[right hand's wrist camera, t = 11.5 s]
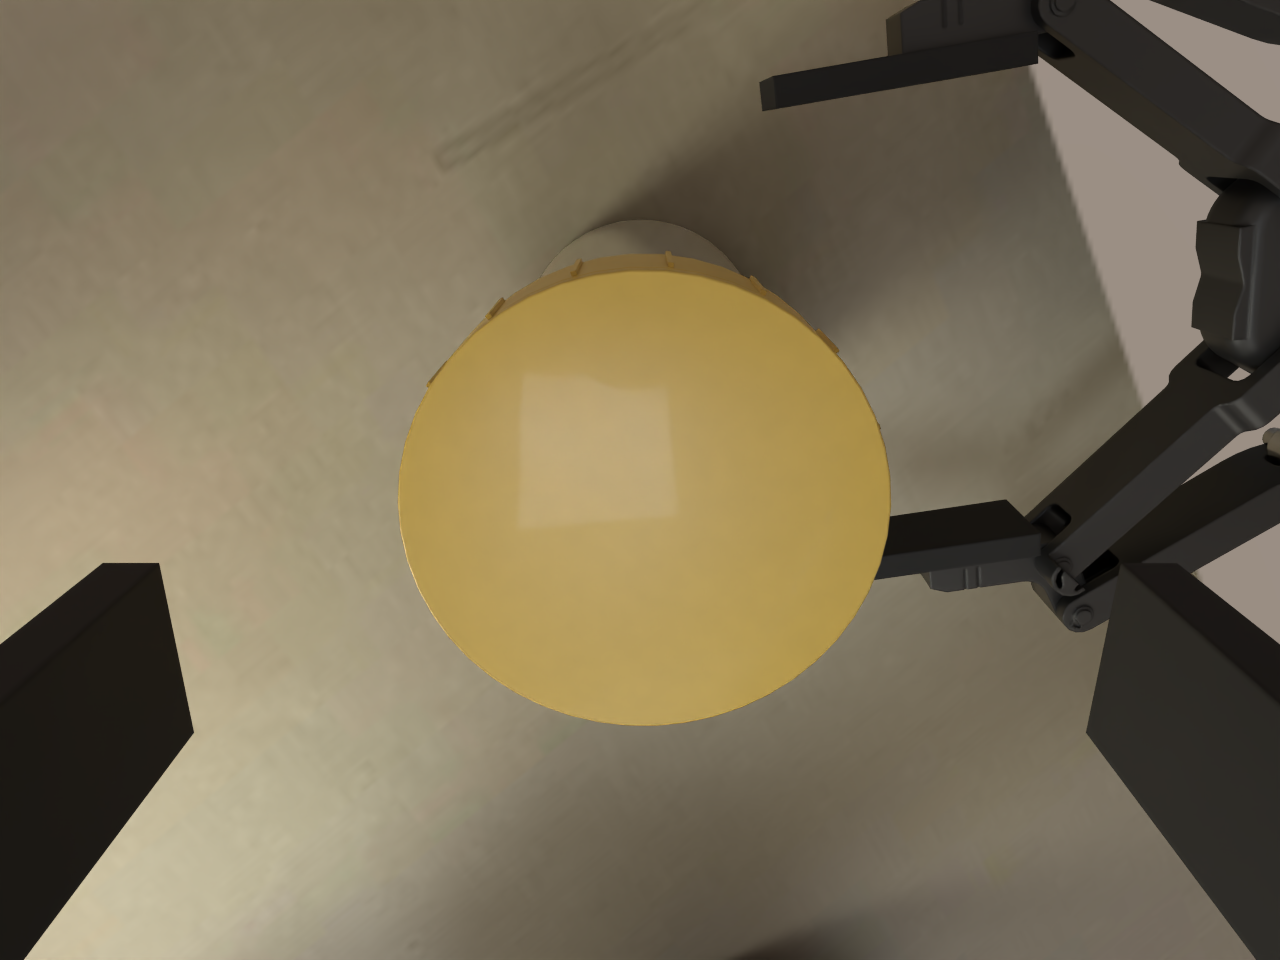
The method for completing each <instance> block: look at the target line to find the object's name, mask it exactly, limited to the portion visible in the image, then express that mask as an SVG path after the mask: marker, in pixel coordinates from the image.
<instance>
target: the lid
mask: <svg viewBox="0 0 1280 960" xmlns="http://www.w3.org/2000/svg"><path fill="white" fill-rule="evenodd" d="M485 317H486V318H485V319H484V320H483V321H482V322H481V323H480V324H479V325H478V326H477V327H476V328H475V329H474V330H473V331H472V332H471V333H470V334H469V336H468V337H467V338H466V339H465V340H464V342H463V343H462V344H461V345H460V346H459V347H458V349H457V350H456V351H455V352H454V353H453V355H452V356H451V357H450V358H449V359H448V361H446V362H445V363H444V364H443V365H442V366H441V368H440V369H439V370H438V371H437V372H436V373H435V375H434V376H433V377H432V378H431V379H430V380H429V382H428V383H427V385H426V387H428V390H427V392H426V394H425V396H424V398H423V400H422V401H421V403H420V405H419V407H418V409H417V411H416V413H415V416H414V419H413V422H412V424H411V427H410V430H409V433H408V436H407V439H406V441H405V446H404V451H403V456H402V461H401V466H400V471H399V488H398V510H399V521H400V532H401V536H402V541H403V545H404V549H405V553H406V558H407V561H408V564H409V567H410V569H411V572H412V574H413V577H414V580H415V582H416V585H417V587H418V589H419V591H420V593H421V595H422V597H423V599H424V600H425V602H426V604H427V606H428V608H429V610H430V611H431V613H432V615H433V616H434V618H435V619H436V620H437V622H438V623H439V624H440V626H441V627H442V628H443V630H444V631H445V633H446V634H447V635H448V637H449V638H450V639H451V640H452V641H453V642H454V643H455V644H456V645H457V646H458V647H459V648H460V650H461V651H462V652H463V653H464V654H465V655H466V656H467V657H468V658H469V659H470V660H471V661H473V662H474V663H475V664H476V665H477V666H479V667H480V668H481V669H482V670H483V671H485V672H486V673H487V674H488V675H490V676H491V677H492V678H494V679H495V680H497V681H498V682H500V683H501V684H503V685H505V686H506V687H508V688H509V689H511V690H512V691H514V692H515V693H517V694H519V695H521V696H523V697H525V698H528V699H530V700H532V701H534V702H536V703H538V704H540V705H542V706H545V707H547V708H550V709H553V710H556V711H559V712H562V713H564V714H567V715H570V716H574V717H579V718H583V719H587V720H592V721H596V722H602V723H611V724H619V725H637V726H658V725H667V724H677V723H686V722H691V721H695V720H700V719H705V718H709V717H714V716H717V715H720V714H723V713H726V712H729V711H732V710H735V709H738V708H741V707H743V706H745V705H748V704H750V703H752V702H754V701H756V700H758V699H760V698H762V697H765V696H767V695H769V694H770V693H772V692H774V691H775V690H777V689H778V688H780V687H782V686H783V685H785V684H786V683H788V682H790V681H791V680H793V679H794V678H796V677H797V676H798V675H799V674H801V673H802V672H803V671H804V670H806V669H807V668H808V667H809V666H811V665H812V664H813V663H814V662H816V661H817V660H818V659H819V658H820V657H821V656H822V655H823V654H824V653H825V652H826V651H827V650H828V649H829V647H830V646H831V645H832V644H833V643H834V642H835V641H836V640H837V639H838V638H839V636H840V635H841V634H842V633H843V631H844V630H845V629H846V627H847V626H848V625H849V623H850V622H851V621H852V619H853V618H854V617H855V615H856V613H857V611H858V610H859V608H860V606H861V605H862V603H863V601H864V599H865V598H866V596H867V594H868V592H869V590H870V588H871V585H872V583H873V580H874V578H875V576H876V573H877V571H878V568H879V566H880V563H881V559H882V555H883V551H884V548H885V544H886V540H887V536H888V528H889V519H890V510H891V487H890V472H889V466H888V460H887V454H886V449H885V444H884V441H883V438H882V435H881V432H880V429H881V428H880V425H879V423H878V422H877V420H876V417H875V414H874V412H873V410H872V408H871V406H870V404H869V402H868V400H867V398H866V396H865V394H864V392H863V390H862V388H861V387H860V385H859V384H858V382H857V381H856V379H855V378H854V376H853V375H852V374H851V372H850V371H849V369H848V368H847V366H846V365H845V363H844V362H843V361H842V360H841V359H840V357H839V356H838V355H837V354H836V353H837V352H839V349H838V348H837V347H836V346H835V345H834V344H833V343H832V342H831V341H830V340H829V339H828V338H827V336H826V335H825V334H824V333H823V332H822V331H821V330H820V329H819V328H818V329H817V330H816V331H815V330H814V329H813V328H812V327H811V326H810V325H809V324H808V323H807V322H806V320H805V319H804V318H803V317H802V316H801V315H800V314H799V313H798V312H796V311H795V310H794V309H793V308H792V307H790V306H789V305H788V304H787V303H786V302H784V301H783V300H782V299H781V298H779V297H778V296H777V295H776V294H774V293H772V292H771V291H769V290H767V289H766V288H764V287H763V286H762V285H761V284H760V282H759V281H758V280H757V279H756V278H755V277H753V276H752V275H751V276H750V278H747V277H744V276H742V275H740V274H737V273H735V272H733V271H731V270H728V269H726V268H724V267H721V266H717V265H714V264H710V263H707V262H703V261H700V260H696V259H693V258H686V257H679V256H672V254H671V251H665V254H625V255H617V256H609V257H601V258H597V259H593V260H589V261H585V262H582V259H581V258H580V259H577V260H576V261H575V263H574V265H570V266H568V267H565V268H563V269H560V270H558V271H556V272H553V273H551V274H548V275H546V276H544V277H541V278H539V279H538V280H536V281H534V282H533V283H531V284H529V285H528V286H526V287H524V288H522V289H521V290H519V291H517V292H516V293H514V294H513V295H512V296H510V297H509V298H508V299H507V300H504V299H503V298H501V299H499V300H498V301H497V303H496V304H495V305H494V306H493V307H492V309H491V310H490V311H489V312H488V313H487V314H486V316H485Z"/></svg>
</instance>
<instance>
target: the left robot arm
mask: <svg viewBox="0 0 1280 960" xmlns="http://www.w3.org/2000/svg"><path fill="white" fill-rule="evenodd" d="M1151 1H1153V2H1156V3H1159V4H1161V5H1164V6H1167V7H1169V8H1172V9H1175V10H1177V11H1180V12H1183V13H1185V14H1188V15H1191V16H1193V17H1196V18H1198V19H1201V20H1204V21H1207V22H1209V23H1212V24H1215V25H1217V26H1220V27H1222V28H1225V29H1228V30H1231V31H1233V32H1236V33H1238V34H1241V35H1244V36H1247V37H1249V38H1252V39H1255V40H1259V41H1262V42H1265V43H1270V44H1277V45H1280V0H1151ZM886 29H887V46H888V56H886V57H881V58H875V59H869V60H863V61H857V62H852V63H846V64H840V65H834V66H829V67H823V68H817V69H811V70H806V71H800V72H794V73H788V74H782V75H777V76H772V77H770V78H768V79H766V80H763V81H761V82H759V83H760V93H761V102H762V111H767V110H773V109H778V108H784V107H790V106H796V105H802V104H808V103H813V102H819V101H825V100H831V99H837V98H843V97H848V96H854V95H860V94H866V93H872V92H878V91H883V90H889V89H895V88H901V87H907V86H913V85H918V84H924V83H930V82H936V81H942V80H948V79H953V78H959V77H965V76H971V75H977V74H983V73H988V72H994V71H1000V70H1005V69H1011V68H1016V67H1022V66H1027V65H1033V64H1038V56H1039V57H1041V58H1042V59H1043V60H1045V61H1046V62H1048V63H1049V64H1050V65H1052V66H1053V67H1054V68H1056V69H1057V70H1058V71H1060V72H1061V73H1063V74H1064V75H1065V76H1067V77H1068V78H1069V79H1071V80H1072V81H1073V82H1075V83H1076V84H1078V85H1079V86H1080V87H1082V88H1083V89H1084V90H1086V91H1087V92H1088V93H1090V94H1091V95H1092V96H1094V97H1095V98H1097V99H1098V100H1099V101H1101V102H1102V103H1103V104H1105V105H1106V106H1107V107H1109V108H1110V109H1111V110H1113V111H1114V112H1116V113H1117V114H1118V115H1120V116H1121V117H1122V118H1124V119H1125V120H1126V121H1128V122H1129V123H1131V124H1132V125H1133V126H1135V127H1136V128H1137V129H1139V130H1140V131H1141V132H1143V133H1144V134H1145V135H1147V136H1148V137H1150V138H1151V139H1152V140H1154V141H1155V142H1156V143H1158V144H1159V145H1160V146H1162V147H1163V148H1165V149H1166V150H1167V151H1169V152H1170V153H1171V154H1173V155H1174V156H1175V157H1177V158H1178V160H1179V165H1180V166H1181V167H1182V168H1183V169H1184V170H1185V171H1187V172H1188V173H1189V174H1191V175H1192V176H1193V177H1195V178H1196V179H1198V180H1199V181H1200V182H1202V183H1203V184H1204V185H1206V186H1207V187H1209V188H1210V189H1211V190H1213V191H1214V192H1215V193H1217V194H1218V195H1219V197H1218V198H1217V200H1216V201H1215V202H1214V204H1213V206H1212V207H1211V209H1210V212H1209V214H1208V216H1207V219H1206V220H1201V221H1197V233H1196V251H1197V256H1198V260H1199V264H1200V269H1201V278H1200V281H1199V284H1198V287H1197V290H1196V293H1195V297H1194V300H1193V309H1192V327H1193V328H1196V329H1199V330H1200V331H1201V334H1202V337H1203V339H1204V340H1203V341H1202V342H1201V343H1200V344H1199V345H1198V346H1197V347H1196V348H1195V349H1194V350H1193V351H1191V352H1190V353H1189V354H1188V355H1187V356H1186V357H1185V358H1184V359H1183V360H1182V361H1181V362H1180V363H1178V364H1177V365H1176V366H1175V367H1174V369H1173V370H1172V371H1171V373H1170V375H1169V383H1168V385H1167V386H1166V387H1165V389H1163V390H1162V391H1161V392H1160V393H1159V394H1158V395H1157V396H1156V397H1155V398H1154V399H1153V400H1151V401H1150V402H1149V403H1148V404H1147V405H1146V406H1145V407H1144V408H1143V409H1142V410H1140V411H1139V412H1138V413H1137V414H1136V415H1135V416H1134V417H1133V418H1132V419H1131V420H1130V421H1129V422H1127V423H1126V424H1125V425H1124V426H1123V427H1122V428H1121V429H1120V430H1119V431H1118V432H1117V433H1115V434H1114V435H1113V436H1112V437H1111V438H1110V439H1109V440H1108V441H1107V442H1106V443H1105V444H1103V445H1102V446H1101V447H1100V448H1099V449H1098V450H1097V451H1096V452H1095V453H1094V454H1093V455H1091V456H1090V457H1089V458H1088V459H1087V460H1086V461H1085V462H1084V463H1083V464H1082V465H1081V466H1079V467H1078V468H1077V469H1076V470H1075V471H1074V472H1073V473H1072V474H1071V475H1070V476H1069V477H1067V478H1066V479H1065V480H1064V481H1063V482H1062V483H1061V484H1060V485H1059V486H1058V487H1057V488H1056V489H1054V490H1053V491H1052V492H1051V493H1050V494H1049V495H1048V496H1047V497H1046V498H1045V499H1044V500H1042V501H1041V502H1040V503H1039V504H1038V505H1037V506H1036V507H1035V508H1034V509H1033V510H1032V511H1030V512H1029V513H1028V514H1027V515H1026V516H1025V517H1023V516H1022V515H1021V514H1020V513H1019V512H1018V511H1017V510H1016V509H1015V508H1014V507H1013V506H1012V505H1011V504H1010V503H1009V502H1008V501H1007V500H999V501H992V502H985V503H979V504H972V505H965V506H958V507H951V508H945V509H938V510H931V511H924V512H917V513H911V514H904V515H897V516H890V519H889V528H888V536H887V540H886V544H885V548H884V551H883V555H882V559H881V563H880V566H879V568H878V571H877V573H876V576H875V578H874V580H877V579H884V578H891V577H898V576H905V575H912V574H919V573H921V575H922V576H923V578H924V579H925V581H926V582H927V584H928V586H929V587H930V589H934V590H939V591H944V592H952V591H959V590H964V589H973V588H977V587H987V586H994V585H1001V584H1008V583H1015V582H1022V581H1030V582H1031V585H1032V588H1033V590H1034V591H1035V592H1036V593H1037V594H1038V596H1039V597H1040V598H1041V599H1042V600H1043V601H1044V603H1045V604H1046V605H1047V606H1048V607H1049V608H1050V609H1051V611H1052V612H1053V613H1054V614H1055V615H1056V616H1057V617H1058V619H1059V620H1060V621H1061V622H1062V623H1063V624H1064V625H1065V626H1066V627H1067V628H1068V629H1069V630H1071V631H1074V632H1085V631H1087V630H1090V629H1092V628H1094V627H1096V626H1097V625H1099V624H1101V623H1103V622H1105V621H1106V620H1108V619H1110V614H1111V609H1112V604H1113V599H1114V594H1115V590H1116V585H1117V580H1118V575H1119V570H1120V565H1121V563H1178V564H1179V565H1180V566H1181V567H1183V568H1184V569H1185V570H1186V571H1188V572H1189V573H1192V572H1194V571H1195V570H1197V569H1199V568H1201V567H1202V566H1204V565H1206V564H1208V563H1210V562H1211V561H1213V560H1215V559H1217V558H1218V557H1220V556H1222V555H1224V554H1226V553H1227V552H1229V551H1231V550H1233V549H1234V548H1236V547H1238V546H1240V545H1241V544H1243V543H1245V542H1247V541H1249V540H1251V539H1252V538H1254V537H1256V536H1258V535H1259V534H1261V533H1263V532H1265V531H1266V530H1268V529H1270V528H1272V527H1274V526H1275V525H1277V524H1279V523H1280V429H1278V428H1270V429H1268V430H1267V431H1266V432H1265V433H1264V435H1263V439H1262V440H1263V443H1264V444H1262V445H1259V446H1256V447H1252V448H1249V449H1247V450H1244V451H1242V452H1240V453H1237V454H1235V455H1233V456H1231V457H1229V458H1227V459H1225V460H1224V461H1222V462H1220V463H1218V464H1217V465H1215V466H1213V467H1211V468H1210V469H1208V470H1206V471H1205V472H1203V473H1201V474H1199V475H1198V476H1196V477H1194V478H1193V479H1191V480H1189V481H1187V482H1186V483H1184V482H1185V481H1186V480H1187V479H1188V478H1189V477H1190V476H1192V475H1193V474H1194V473H1195V472H1196V471H1197V470H1199V469H1200V468H1201V467H1202V466H1203V465H1204V464H1205V463H1206V462H1208V461H1209V460H1210V459H1211V458H1212V457H1213V456H1214V455H1216V454H1217V453H1218V452H1219V451H1220V450H1221V449H1222V448H1224V447H1225V446H1226V445H1227V444H1228V443H1229V442H1230V441H1232V440H1233V439H1234V438H1235V437H1236V436H1237V435H1239V434H1240V433H1243V432H1245V431H1251V430H1257V429H1259V428H1261V427H1264V426H1265V425H1266V424H1268V423H1269V422H1271V421H1272V420H1273V419H1274V418H1275V417H1276V416H1277V415H1279V414H1280V123H1277V122H1274V121H1271V120H1268V119H1266V118H1264V117H1262V116H1261V115H1259V114H1258V113H1257V112H1256V111H1254V110H1253V109H1252V108H1250V107H1249V106H1248V105H1246V104H1245V103H1244V102H1242V101H1241V100H1240V99H1239V98H1237V97H1236V96H1235V95H1233V94H1232V93H1231V92H1229V91H1228V90H1227V89H1225V88H1224V87H1223V86H1222V85H1220V84H1219V83H1218V82H1216V81H1215V80H1214V79H1212V78H1211V77H1210V76H1208V75H1207V74H1206V73H1205V72H1203V71H1202V70H1200V69H1199V68H1198V67H1197V66H1195V65H1194V64H1193V63H1191V62H1190V61H1189V60H1187V59H1186V58H1185V57H1184V56H1182V55H1181V54H1180V53H1178V52H1177V51H1176V50H1174V49H1173V48H1172V47H1170V46H1169V45H1168V44H1167V43H1165V42H1164V41H1163V40H1161V39H1160V38H1159V37H1157V36H1156V35H1155V34H1153V33H1152V32H1151V31H1149V30H1148V29H1147V28H1146V27H1144V26H1143V25H1142V24H1140V23H1139V22H1138V21H1136V20H1135V19H1134V18H1133V17H1131V16H1130V15H1129V14H1127V13H1126V12H1125V11H1123V10H1122V9H1121V8H1119V7H1118V6H1117V5H1116V4H1114V3H1113V2H1112V1H1110V0H920V1H918V2H916V3H914V4H912V5H910V6H908V7H905V8H904V9H902V10H901V11H899V12H897V13H896V14H894V15H893V16H891V17H889V18H888V19H886ZM1239 367H1240V368H1242V369H1243V370H1245V371H1247V372H1249V373H1251V375H1249V376H1248V377H1246V378H1245V379H1243V380H1240V381H1233V380H1231V379H1228V377H1229V376H1230V375H1231V374H1232V373H1233V372H1234V371H1235V370H1237V369H1238V368H1239ZM1183 483H1184V484H1183ZM1181 484H1182V485H1181ZM1180 485H1181V486H1180Z"/></svg>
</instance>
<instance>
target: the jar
mask: <svg viewBox="0 0 1280 960" xmlns="http://www.w3.org/2000/svg"><path fill="white" fill-rule="evenodd" d="M665 251H671V254H672V256H679V257H686V258H693V259H696V260H700V261H703V262H707V263H710V264H714V265H717V266H721V267H724V268H726V269H728V270H731V271H733V272H735V273H737V274H740V272H739V271H738V270H737V269H736V267H735V266H734V265H733V263H732V262H731V261H730V260H729V259H728V258H727V257H726V256H725V255H724V253H723V252H722V251H721V250H719V249H718V248H717V247H716V246H714V245H713V244H712V243H711V242H710V241H708V240H706V239H705V238H703V237H702V236H700V235H698V234H697V233H695V232H693V231H690V230H688V229H686V228H684V227H681V226H678V225H674V224H671V223H667V222H662V221H655V220H628V221H620V222H615V223H612V224H608V225H604V226H601V227H599V228H597V229H594V230H592V231H589V232H587V233H586V234H584V235H582V236H581V237H579V238H577V239H576V240H574V241H573V242H572V243H570V244H569V245H568V246H566V247H565V248H564V249H563V250H562V251H561V252H560V253H559V254H558V255H557V256H556V257H555V258H554V259H553V260H552V261H551V262H550V264H549V265H548V266H547V268H546V269H545V271H544V272H543V273H542V275H541V276H540V278H541V277H544V276H546V275H548V274H551V273H553V272H556V271H558V270H560V269H563V268H565V267H568V266H570V265H574V263H575V261H576V260H577V259H580V258H581V259H582V262H585V261H589V260H593V259H597V258H601V257H609V256H617V255H625V254H665ZM740 275H741V274H740Z"/></svg>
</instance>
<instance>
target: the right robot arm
mask: <svg viewBox="0 0 1280 960" xmlns="http://www.w3.org/2000/svg"><path fill="white" fill-rule="evenodd" d="M193 733H194V730H193V726H192V721H191V716H190V711H189V706H188V701H187V696H186V692H185V687H184V682H183V677H182V672H181V667H180V662H179V658H178V653H177V648H176V643H175V638H174V633H173V628H172V624H171V619H170V614H169V609H168V604H167V599H166V594H165V590H164V585H163V580H162V575H161V570H160V565H159V563H102V564H101V565H100V566H99V567H97V568H96V569H95V570H94V571H92V572H91V573H90V574H88V575H87V576H86V577H85V578H83V579H82V580H81V581H80V582H78V583H77V584H76V585H75V586H73V587H72V588H71V589H70V590H68V591H67V592H66V593H65V594H63V595H62V596H61V597H59V598H58V599H57V600H56V601H54V602H53V603H52V604H51V605H49V606H48V607H47V608H46V609H44V610H43V611H42V612H41V613H39V614H38V615H37V616H36V617H34V618H33V619H32V620H30V621H29V622H28V623H27V624H25V625H24V626H23V627H22V628H20V629H19V630H18V631H17V632H15V633H14V634H13V635H12V636H10V637H9V638H8V639H6V640H5V641H4V642H3V643H1V644H0V960H24V959H25V957H26V956H27V955H28V953H29V952H30V951H31V949H32V948H33V947H34V945H35V944H36V943H37V941H38V940H39V939H40V937H41V936H42V935H43V933H44V932H45V931H46V929H47V928H48V927H49V925H50V924H51V923H52V921H53V920H54V919H55V917H56V916H57V915H58V913H59V912H60V911H61V909H62V908H63V907H64V905H65V904H66V903H67V901H68V900H69V899H70V897H71V896H72V895H73V893H74V892H75V891H76V889H77V888H78V887H79V885H80V884H81V883H82V881H83V880H84V879H85V877H86V876H87V875H88V873H89V872H90V871H91V869H92V868H93V867H94V865H95V864H96V863H97V861H98V860H99V859H100V857H101V856H102V855H103V853H104V852H105V851H106V849H107V848H108V847H109V845H110V844H111V843H112V841H113V840H114V839H115V837H116V836H117V835H118V833H119V832H120V831H121V829H122V828H123V827H124V825H125V824H126V823H127V821H128V820H129V819H130V817H131V816H132V815H133V813H134V812H135V811H136V809H137V808H138V807H139V805H140V804H141V803H142V801H143V800H144V799H145V797H146V796H147V795H148V793H149V792H150V791H151V789H152V788H153V787H154V785H155V784H156V783H157V781H158V780H159V779H160V777H161V776H162V775H163V773H164V772H165V771H166V769H167V768H168V767H169V765H170V764H171V763H172V761H173V760H174V759H175V757H176V756H177V755H178V753H179V752H180V751H181V749H182V748H183V747H184V745H185V744H186V743H187V741H188V740H189V739H190V737H191V736H192V735H193ZM1086 733H1087V735H1088V736H1089V737H1090V739H1091V740H1092V741H1093V743H1094V744H1095V745H1096V747H1097V748H1098V749H1099V751H1100V752H1101V753H1102V755H1103V756H1104V757H1105V759H1106V760H1107V761H1108V763H1109V764H1110V765H1111V767H1112V768H1113V769H1114V771H1115V772H1116V773H1117V775H1118V776H1119V777H1120V779H1121V780H1122V781H1123V783H1124V784H1125V785H1126V787H1127V788H1128V789H1129V791H1130V792H1131V793H1132V795H1133V796H1134V797H1135V799H1136V800H1137V801H1138V803H1139V804H1140V805H1141V807H1142V808H1143V809H1144V811H1145V812H1146V813H1147V815H1148V816H1149V817H1150V819H1151V820H1152V821H1153V823H1154V824H1155V825H1156V827H1157V828H1158V829H1159V831H1160V832H1161V833H1162V835H1163V836H1164V837H1165V839H1166V840H1167V841H1168V843H1169V844H1170V845H1171V847H1172V848H1173V849H1174V851H1175V852H1176V853H1177V855H1178V856H1179V857H1180V859H1181V860H1182V861H1183V863H1184V864H1185V865H1186V867H1187V868H1188V869H1189V871H1190V872H1191V873H1192V875H1193V876H1194V877H1195V879H1196V880H1197V881H1198V883H1199V884H1200V885H1201V887H1202V888H1203V889H1204V891H1205V892H1206V893H1207V895H1208V896H1209V897H1210V899H1211V900H1212V901H1213V903H1214V904H1215V905H1216V907H1217V908H1218V909H1219V911H1220V912H1221V913H1222V915H1223V916H1224V917H1225V919H1226V920H1227V921H1228V923H1229V924H1230V925H1231V927H1232V928H1233V929H1234V931H1235V932H1236V933H1237V935H1238V936H1239V937H1240V939H1241V940H1242V941H1243V943H1244V944H1245V945H1246V947H1247V948H1248V949H1249V951H1250V952H1251V953H1252V955H1253V956H1254V957H1255V959H1256V960H1280V644H1278V643H1277V642H1276V641H1275V640H1274V639H1272V638H1271V637H1270V636H1268V635H1267V634H1266V633H1265V632H1263V631H1262V630H1261V629H1260V628H1258V627H1257V626H1256V625H1255V624H1253V623H1252V622H1251V621H1250V620H1248V619H1247V618H1246V617H1245V616H1243V615H1242V614H1241V613H1239V612H1238V611H1237V610H1236V609H1234V608H1233V607H1232V606H1231V605H1229V604H1228V603H1227V602H1225V601H1224V600H1223V599H1222V598H1221V597H1219V596H1218V595H1217V594H1215V593H1214V592H1213V591H1212V590H1210V589H1209V588H1208V587H1207V586H1205V585H1204V584H1203V583H1202V582H1200V581H1199V580H1198V579H1197V578H1195V577H1194V576H1193V575H1192V574H1190V573H1189V572H1188V571H1186V570H1185V569H1184V568H1183V567H1181V566H1180V565H1179V564H1178V563H1121V565H1120V570H1119V575H1118V580H1117V585H1116V590H1115V594H1114V599H1113V604H1112V609H1111V614H1110V619H1109V624H1108V628H1107V633H1106V638H1105V643H1104V648H1103V653H1102V658H1101V662H1100V667H1099V672H1098V677H1097V682H1096V687H1095V692H1094V696H1093V701H1092V706H1091V711H1090V716H1089V721H1088V726H1087V731H1086Z"/></svg>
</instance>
